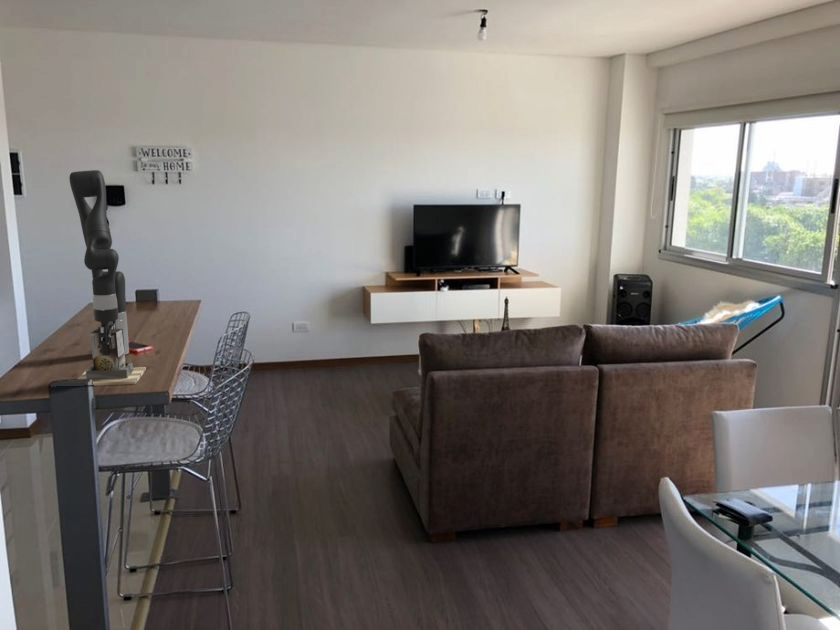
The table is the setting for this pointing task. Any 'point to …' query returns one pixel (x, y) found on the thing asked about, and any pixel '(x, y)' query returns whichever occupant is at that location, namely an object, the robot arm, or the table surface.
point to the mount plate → (114, 375)
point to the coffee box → (116, 351)
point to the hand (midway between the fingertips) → (109, 352)
